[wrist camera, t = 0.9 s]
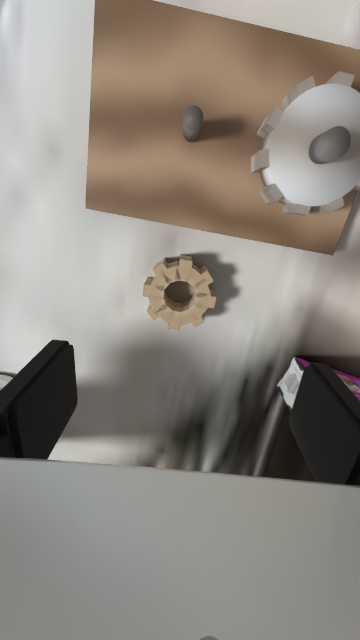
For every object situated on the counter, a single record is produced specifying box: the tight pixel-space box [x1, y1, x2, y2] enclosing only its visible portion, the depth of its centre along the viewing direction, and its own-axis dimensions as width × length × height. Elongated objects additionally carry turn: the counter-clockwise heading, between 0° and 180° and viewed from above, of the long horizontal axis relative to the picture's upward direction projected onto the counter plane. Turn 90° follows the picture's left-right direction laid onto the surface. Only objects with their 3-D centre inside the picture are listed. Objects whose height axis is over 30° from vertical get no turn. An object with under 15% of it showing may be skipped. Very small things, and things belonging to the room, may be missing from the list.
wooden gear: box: [143, 254, 217, 330], centre depth 29 cm, size 7×7×3 cm
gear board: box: [86, 0, 360, 255], centre depth 22 cm, size 15×24×7 cm, turn 80°
